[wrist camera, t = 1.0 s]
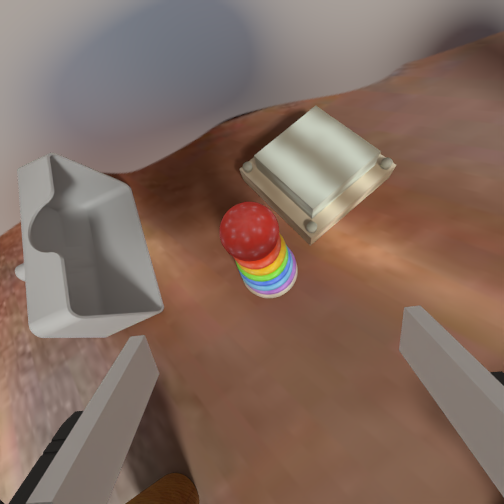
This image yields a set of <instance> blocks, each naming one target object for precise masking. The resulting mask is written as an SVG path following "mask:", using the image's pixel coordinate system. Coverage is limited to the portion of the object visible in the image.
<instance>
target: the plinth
mask: <svg viewBox="0 0 504 504" xmlns="http://www.w3.org/2000/svg"><path fill="white" fill-rule="evenodd" d="M380 152H381V151H380V150H378V149H377V148H375V147H374V146H373V145H371V144H370V143H368V142H367V141H365V140H364V139H363V138H361V137H360V136H358V135H357V134H356V133H354V132H353V131H351V130H350V129H348V128H347V127H346V126H344V125H343V124H341V123H340V122H338V121H337V120H336V119H334V118H333V117H331V116H330V115H328V114H327V113H326V112H324V111H323V110H321V109H320V108H318V107H317V106H315V107H313V108H312V109H311V110H310V111H309V112H307V113H306V114H305V115H304V116H302V117H301V118H300V119H299V120H297V121H296V122H295V123H294V124H293V125H291V126H290V127H289V128H288V129H286V130H285V131H284V132H283V133H281V134H280V135H279V136H278V137H276V138H275V139H274V140H273V141H272V142H270V143H269V144H268V145H267V146H265V147H264V148H263V149H262V150H260V151H259V152H258V153H257V154H255V155H254V158H252V159H251V160H250V161H249V162H245V163H244V164H243V167H241V168H240V172H241V175H242V178H243V180H244V181H245V182H246V183H247V184H248V185H249V186H250V187H251V188H252V189H253V190H254V191H255V192H256V193H257V194H258V195H259V196H260V197H261V198H262V199H263V200H264V201H265V202H266V203H267V204H268V205H269V206H270V207H271V208H272V209H273V210H274V211H275V212H277V213H278V214H279V215H280V216H281V217H282V218H283V219H284V220H285V221H286V222H287V223H288V224H289V225H290V226H291V227H292V228H293V229H294V230H295V231H296V232H297V233H298V234H299V235H300V236H301V237H302V238H303V239H304V240H305V241H306V242H307V243H308V244H309V245H312V244H313V243H314V242H315V241H316V240H317V239H319V238H320V237H321V236H322V235H323V234H324V233H326V232H327V231H328V230H329V229H330V228H331V227H332V226H334V225H335V224H336V223H337V222H338V221H339V220H341V219H342V218H343V217H344V216H345V215H346V214H348V213H349V212H350V211H351V210H352V209H353V208H354V207H356V206H357V205H358V204H359V203H360V202H361V201H363V200H364V199H365V198H366V197H367V196H368V195H370V194H371V193H372V192H373V191H374V190H375V189H376V188H378V187H379V186H380V185H381V184H382V183H383V182H385V181H386V180H387V179H388V178H389V177H390V175H391V173H392V172H393V170H394V168H395V166H396V165H395V164H394V163H393V161H392V159H391V158H385V157H384V156H383V155H381V154H380Z"/></svg>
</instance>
